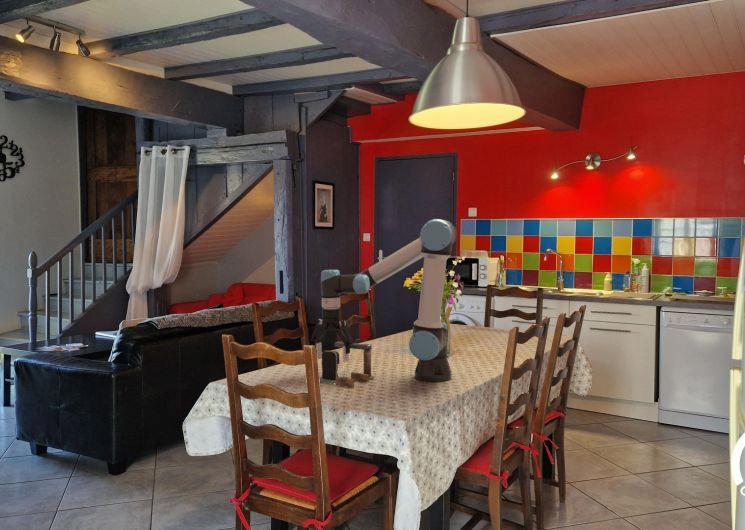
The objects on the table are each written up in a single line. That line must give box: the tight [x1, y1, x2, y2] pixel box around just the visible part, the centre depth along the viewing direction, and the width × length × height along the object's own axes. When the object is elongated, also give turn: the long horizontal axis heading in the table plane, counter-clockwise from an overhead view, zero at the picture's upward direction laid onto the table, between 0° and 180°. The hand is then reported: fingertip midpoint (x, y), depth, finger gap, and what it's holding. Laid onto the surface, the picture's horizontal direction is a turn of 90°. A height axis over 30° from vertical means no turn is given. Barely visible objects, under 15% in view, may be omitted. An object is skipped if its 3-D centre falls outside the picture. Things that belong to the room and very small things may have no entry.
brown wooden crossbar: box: [333, 341, 373, 351], centre depth 263 cm, size 4×17×2 cm, turn 61°
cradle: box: [335, 350, 375, 389], centre depth 255 cm, size 8×19×12 cm, turn 146°
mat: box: [319, 375, 349, 385], centre depth 258 cm, size 10×10×1 cm
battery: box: [321, 349, 340, 380], centre depth 258 cm, size 7×4×11 cm, turn 59°
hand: (332, 360), depth 259 cm, fingers open, 13 cm apart
